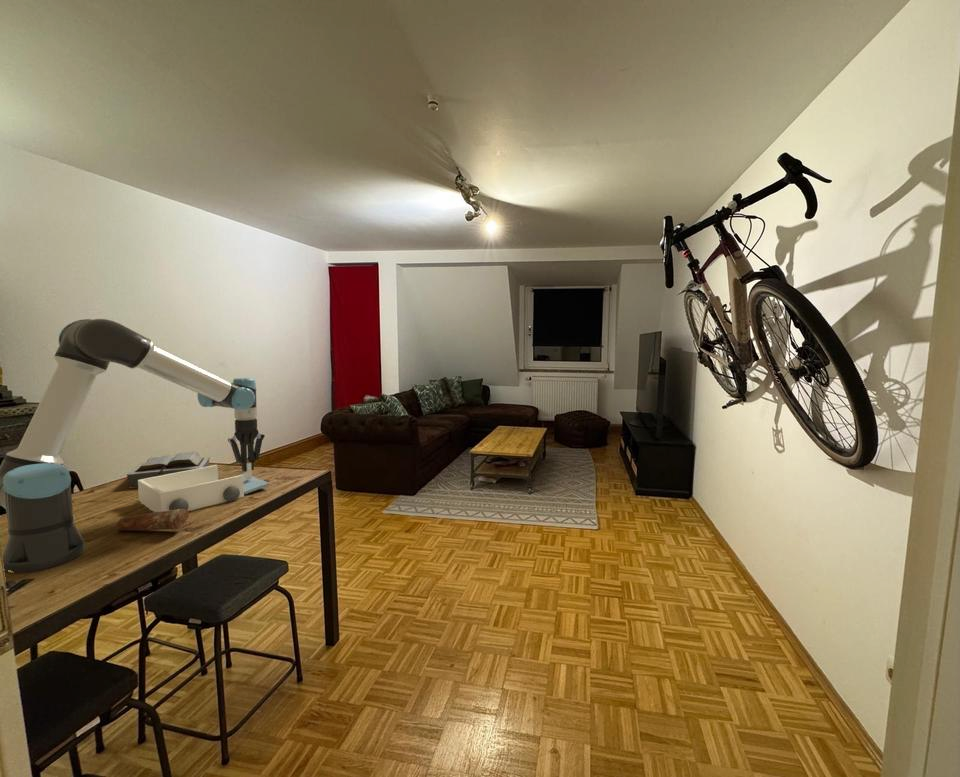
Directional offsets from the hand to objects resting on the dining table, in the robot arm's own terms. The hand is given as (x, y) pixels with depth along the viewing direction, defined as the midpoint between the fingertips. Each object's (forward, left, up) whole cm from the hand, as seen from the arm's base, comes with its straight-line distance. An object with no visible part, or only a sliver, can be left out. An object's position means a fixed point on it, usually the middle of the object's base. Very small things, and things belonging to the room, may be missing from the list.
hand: (248, 479), depth 170 cm
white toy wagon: (-19, 0, -3) cm, 19 cm away
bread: (-35, -22, -5) cm, 42 cm away
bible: (-15, +32, -4) cm, 36 cm away
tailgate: (-6, 0, -2) cm, 6 cm away
